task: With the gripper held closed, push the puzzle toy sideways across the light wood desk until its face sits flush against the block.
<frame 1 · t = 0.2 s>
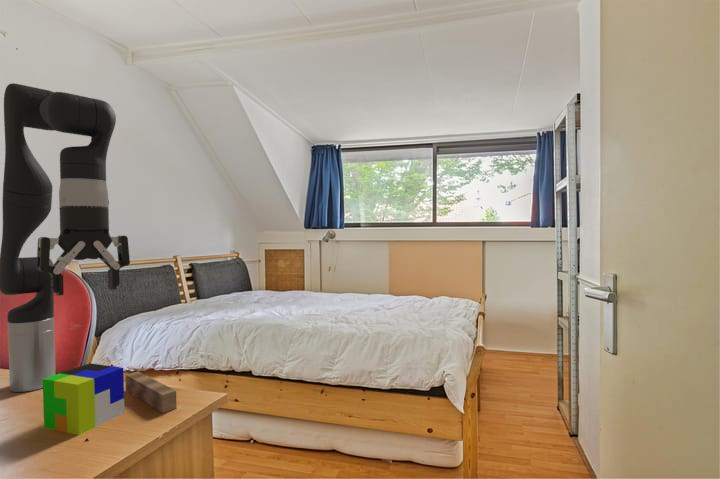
hand: (86, 291, 75), 28 cm above the table, fingers open, 8 cm apart
puzzle toy: (85, 421, 85), on the table
block: (149, 399, 95), on the table
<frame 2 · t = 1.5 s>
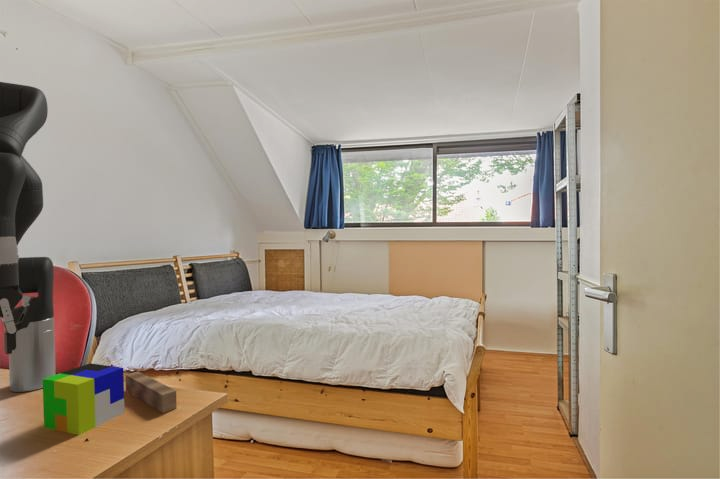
nothing on the table moved.
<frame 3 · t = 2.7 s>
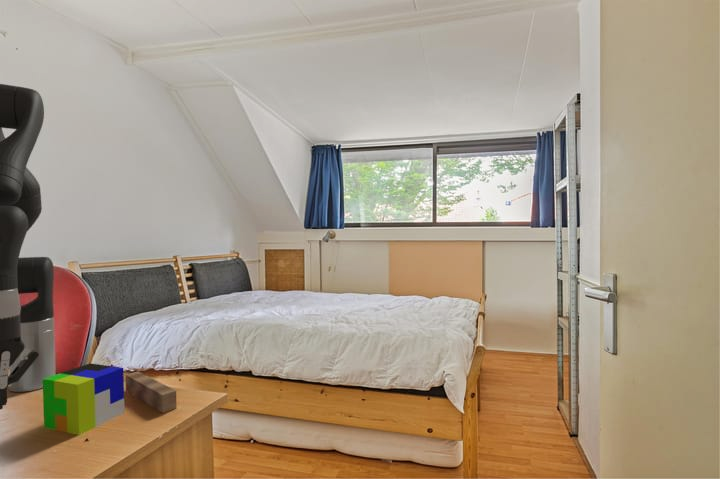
nothing on the table moved.
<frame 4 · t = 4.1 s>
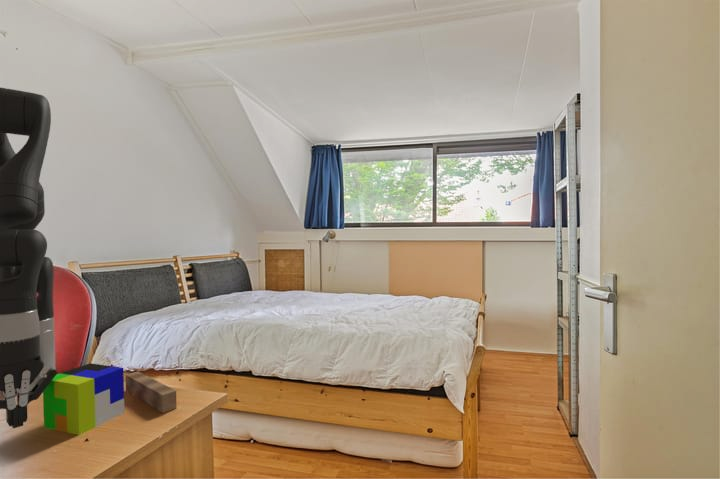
hand: (17, 425, 76), 3 cm above the table, fingers closed
nothing on the table moved.
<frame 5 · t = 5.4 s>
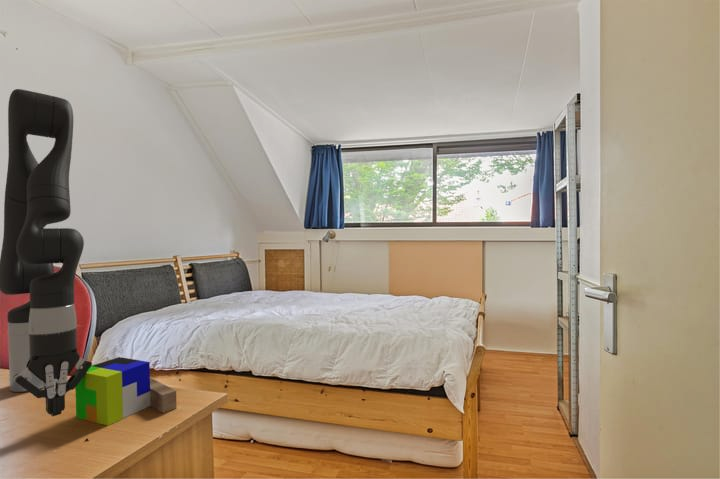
hand: (55, 414, 80), 3 cm above the table, fingers closed
puzzle toy: (114, 412, 88), on the table, touching block, hand
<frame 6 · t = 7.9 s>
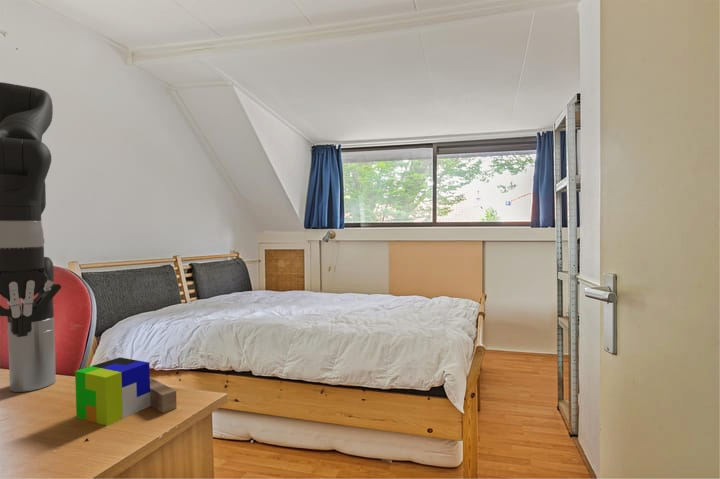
hand: (21, 335, 76), 20 cm above the table, fingers closed
puzzle toy: (114, 412, 88), on the table
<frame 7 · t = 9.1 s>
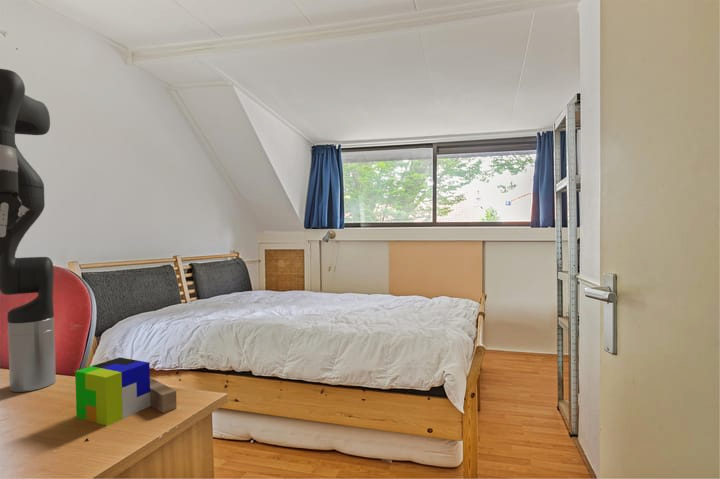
nothing on the table moved.
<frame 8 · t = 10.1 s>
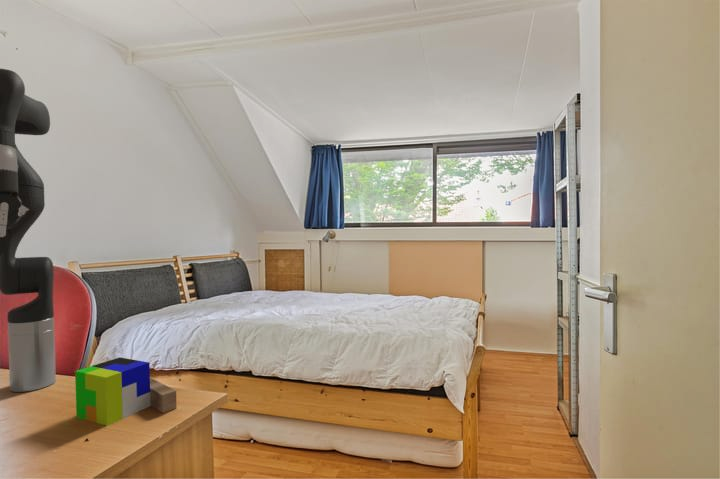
nothing on the table moved.
at the end: puzzle toy inside the target area on the table beside the block (0.6 cm from its centre), on the table; puzzle toy tilted 0° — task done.
